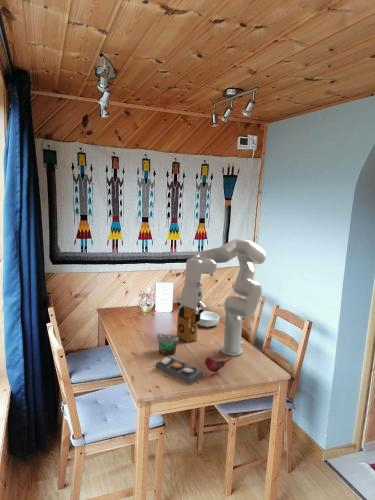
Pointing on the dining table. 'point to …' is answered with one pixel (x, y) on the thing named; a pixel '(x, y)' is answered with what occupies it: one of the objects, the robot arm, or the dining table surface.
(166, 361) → the rocker
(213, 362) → the decorative bird figurine
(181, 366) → the middle rocker
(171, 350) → the food container
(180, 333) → the coffee package
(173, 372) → the rocker switch panel
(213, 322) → the cereal bowl
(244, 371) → the dining table surface
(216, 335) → the dining table surface
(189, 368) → the rocker
